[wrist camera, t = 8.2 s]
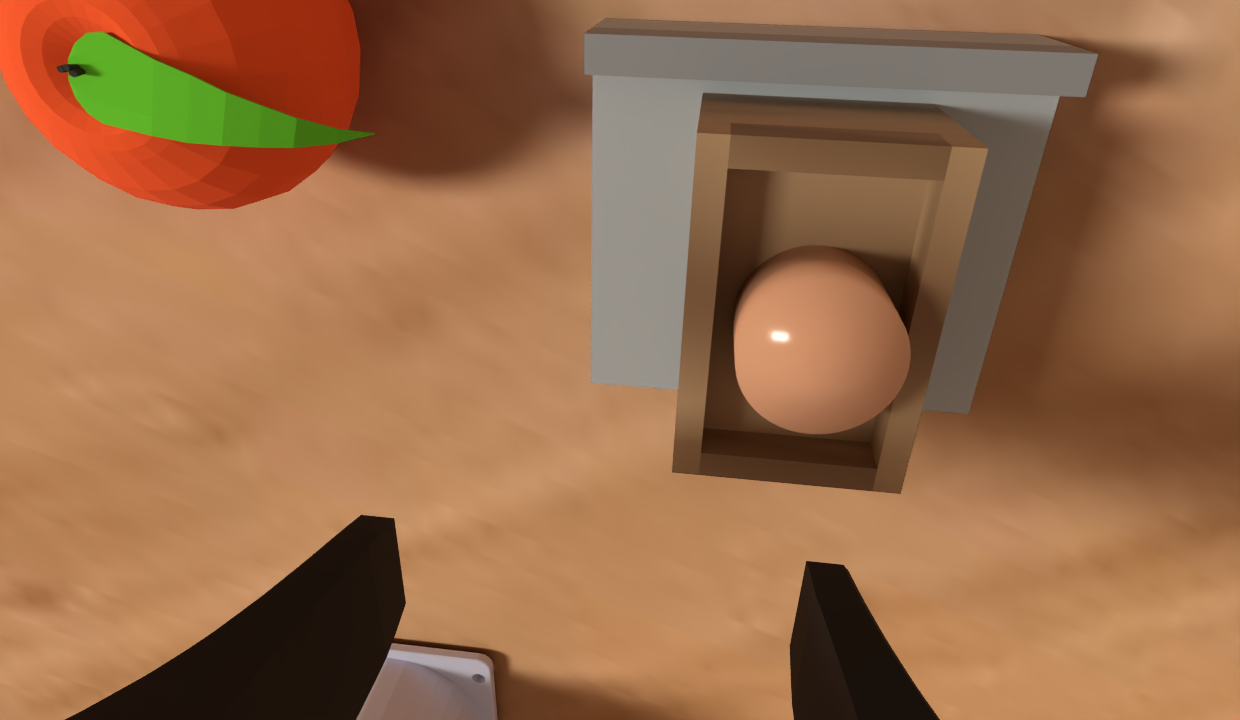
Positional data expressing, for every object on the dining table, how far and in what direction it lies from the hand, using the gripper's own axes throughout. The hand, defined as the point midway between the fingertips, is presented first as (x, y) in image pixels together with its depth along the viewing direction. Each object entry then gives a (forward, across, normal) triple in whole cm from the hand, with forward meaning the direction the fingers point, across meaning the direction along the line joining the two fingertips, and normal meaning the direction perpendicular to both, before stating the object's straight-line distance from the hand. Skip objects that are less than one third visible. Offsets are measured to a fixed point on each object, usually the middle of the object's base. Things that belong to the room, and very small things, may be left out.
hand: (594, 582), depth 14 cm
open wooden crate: (+8, -4, -3) cm, 10 cm away
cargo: (+5, -4, -3) cm, 7 cm away
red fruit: (+10, +9, -7) cm, 16 cm away
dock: (+10, -4, -4) cm, 11 cm away
